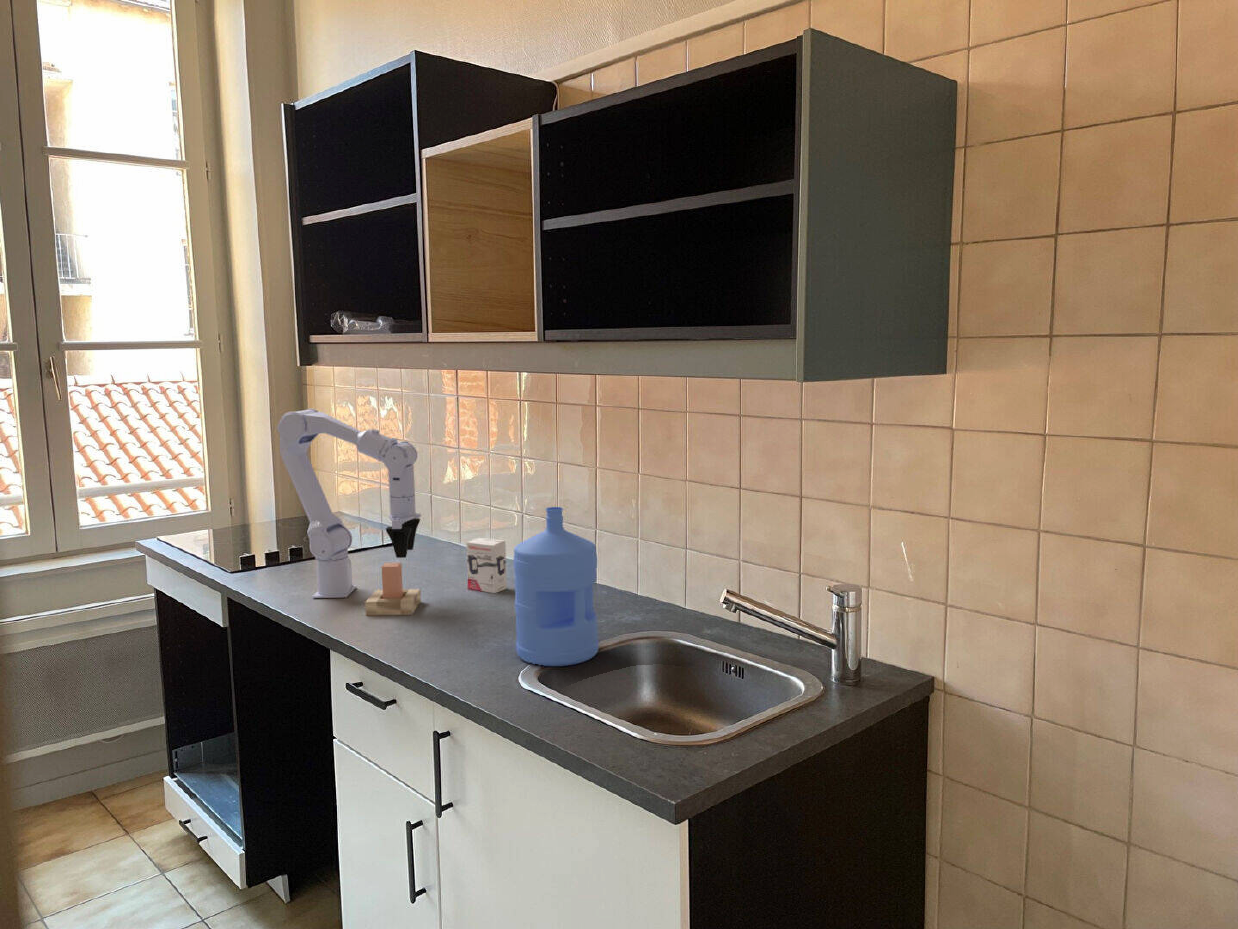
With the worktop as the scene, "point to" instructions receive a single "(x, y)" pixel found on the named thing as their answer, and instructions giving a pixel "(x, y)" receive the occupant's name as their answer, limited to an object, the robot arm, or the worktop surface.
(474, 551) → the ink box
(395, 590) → the peg
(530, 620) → the water jug
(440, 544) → the worktop surface
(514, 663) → the worktop surface
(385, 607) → the socket block
